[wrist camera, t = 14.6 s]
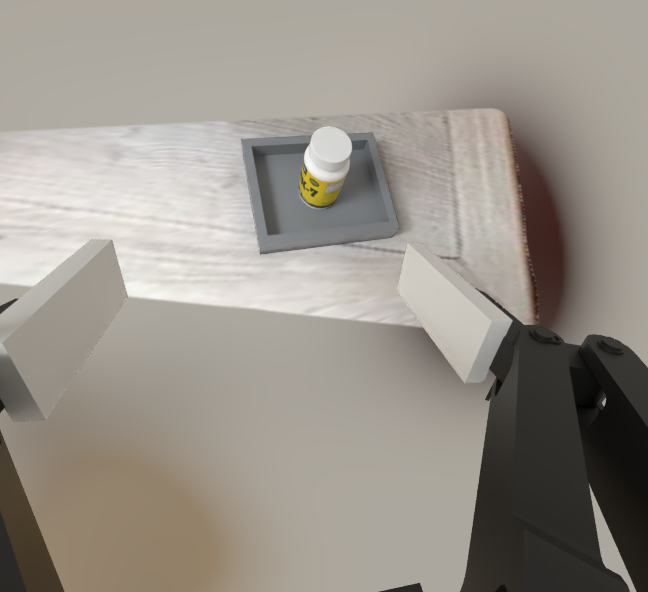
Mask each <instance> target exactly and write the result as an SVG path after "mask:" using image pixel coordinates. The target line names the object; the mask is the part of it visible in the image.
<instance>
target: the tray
mask: <svg viewBox="0 0 648 592" xmlns="http://www.w3.org/2000/svg"><path fill="white" fill-rule="evenodd" d="M347 135H348V137H349V138H350V140H351V143H352V152H351V155H350V158H349V159H350V166H349V171H348V173H347V175H346V178H345V180H344V183H343V185H342V187H341V190H340V192H339V195H338V197H337V199H336V201H335V203H334V204H333V205H332V206H330V207H329V208H326V209H321V210H319V209H313V208H311V207H309V206H307V205H306V204H305V203H304V202H303V201H302V199H301V198H300V195H299V191H298V188H299V181H300V175H301V169H302V164H303V158H304V154H305V151H306V149H307V147H308V146H309V144H310V141H311V138H312V136H294V137H274V138H254V139H241V142H242V151H243V158H244V163H245V169H246V175H247V181H248V187H249V193H250V199H251V204H252V210H253V216H254V222H255V228H256V234H257V240H258V245H259V251H260V254H267V253H275V252H282V251H290V250H298V249H306V248H314V247H321V246H329V245H337V244H345V243H353V242H361V241H368V240H376V239H384V238H391V237H392V236H393V235H394V234H395V233H396V232H397V231H398V230H399V225H398V221H397V218H396V214H395V210H394V207H393V203H392V199H391V196H390V192H389V188H388V185H387V181H386V178H385V174H384V170H383V167H382V163H381V159H380V156H379V152H378V148H377V145H376V141H375V137H374V134H373V133H353V134H347Z"/></svg>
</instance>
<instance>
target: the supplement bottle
mask: <svg viewBox="0 0 648 592" xmlns="http://www.w3.org/2000/svg"><path fill="white" fill-rule="evenodd" d="M351 152H352V143H351V140H350V138H349V137H348V135H347V134H346V133H345V132H344V131H342V130H340V129H338V128H336V127H331V126H326V127H322V128H319V129H318V130H316V131H315V132H314V134H313V135H312V138H311V141H310V144H309V146H308V147H307V149H306V151H305V154H304V158H303V164H302V169H301V175H300V181H299V188H298V191H299V195H300V198H301V199H302V201H303V202H304V203H305V204H306V205H307V206H309V207H311V208H313V209H319V210H321V209H326V208H329V207H330V206H332V205H333V204H334V203H335V201H336V199H337V197H338V195H339V192H340V190H341V187H342V185H343V183H344V180H345V178H346V175H347V173H348V171H349V166H350V159H349V158H350V155H351Z"/></svg>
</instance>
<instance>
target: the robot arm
mask: <svg viewBox="0 0 648 592" xmlns="http://www.w3.org/2000/svg"><path fill="white" fill-rule="evenodd" d="M397 292H398V294H399V295H400V296H401V298H402V299H403V301H404V302H405V303H406V305H407V306H408V307H409V309H410V310H411V311H412V313H413V314H414V315H415V317H416V318H417V319H418V321H419V322H420V324H421V325H422V326H423V328H424V329H425V330H426V332H427V333H428V334H429V336H430V337H431V338H432V340H433V341H434V343H435V344H436V345H437V347H438V348H439V349H440V351H441V352H442V353H443V355H444V356H445V357H446V359H447V360H448V361H449V363H450V364H451V366H452V367H453V368H454V370H455V371H456V372H457V374H458V375H459V376H460V378H461V379H462V380H463V382H464V383H465V384H466V383H477V382H484V380H485V378H486V376H487V373H488V371H489V369H490V370H491V371H492V372H493V373H494V374H495V376H496V379H495V381H494V383H493V385H492V387H491V389H490V391H489V393H488V395H487V397H486V399H485V400H488V401H489V399H490V398H491V399H490V407H489V414H488V420H487V427H486V434H485V441H484V448H483V456H482V463H481V470H480V477H479V484H478V491H477V499H476V505H475V512H474V519H473V526H472V533H471V541H470V548H469V555H468V561H467V569H466V574H465V578H464V583H463V585H462V588H461V591H460V592H630V591H629V588H628V586H627V584H626V583H625V581H624V580H623V579H622V577H621V576H620V575H618V574H616V573H615V572H613V571H611V570H609V569H607V568H606V567H605V566H604V564H603V561H602V558H601V554H600V548H599V542H598V536H597V531H596V524H595V518H594V512H593V507H592V500H591V495H590V488H589V484H590V487H591V489H592V491H593V493H594V496H595V498H596V500H597V502H598V505H599V507H600V509H601V512H602V514H603V516H604V518H605V521H606V523H607V525H608V528H609V530H610V532H611V534H612V537H613V539H614V541H615V543H616V546H617V548H618V550H619V552H620V555H621V557H622V559H623V562H624V564H625V566H626V569H627V571H628V573H629V575H630V578H631V580H632V582H633V584H634V587H635V589H636V591H637V592H648V368H647V366H646V365H645V364H644V363H643V362H642V361H641V360H640V358H639V357H638V356H637V355H636V354H635V353H634V352H633V351H632V350H631V349H630V348H629V347H627V346H626V345H624V344H622V343H621V342H620V341H618V340H616V339H615V340H614V339H613V338H611V337H605V336H602V335H594V334H593V335H588V336H587V338H586V339H585V340H584V342H583V344H582V345H581V346H579V345H573V344H567V343H564V341H563V339H562V338H561V337H559V336H558V335H557V334H555V333H554V332H552V331H550V330H548V329H545V328H543V327H539V326H535V325H523V324H522V323H521V322H520V321H519V320H517V319H516V318H515V317H514V316H513V315H511V314H510V313H509V312H508V311H507V310H505V309H504V308H502V306H501V305H499V304H498V303H496V302H495V300H493V299H492V298H491V297H490V296H489V295H487V294H486V293H484V292H482V291H480V290H478V289H476V288H474V287H473V286H472V285H471V284H469V283H468V282H467V281H466V280H465V279H464V278H462V277H461V276H460V275H459V274H458V273H457V272H455V271H454V270H453V269H452V268H451V267H450V266H448V265H447V264H446V263H445V262H444V261H442V260H441V259H440V258H439V257H438V256H437V255H435V254H434V253H433V252H432V251H431V250H430V249H428V248H427V247H426V246H425V245H424V244H423V243H407V248H406V252H405V257H404V261H403V265H402V270H401V274H400V278H399V283H398V287H397ZM127 298H128V295H127V292H126V288H125V285H124V281H123V278H122V274H121V270H120V267H119V263H118V260H117V256H116V253H115V249H114V245H113V242H112V240H90V241H89V242H88V243H86V244H85V245H84V246H83V247H82V248H80V249H79V250H78V251H77V252H75V253H74V254H73V255H72V256H71V257H69V258H68V259H67V260H66V261H64V262H63V263H62V264H61V265H60V266H58V267H57V268H56V269H55V270H54V271H52V272H51V273H50V274H49V275H47V276H46V277H45V278H44V279H43V280H41V281H40V282H39V283H38V284H36V285H35V286H34V287H33V288H32V289H30V290H29V291H28V292H27V293H25V294H24V295H23V296H22V297H21V298H19V299H14V300H12V301H10V302H8V303H6V304H4V305H1V306H0V412H1V411H2V410H3V409H4V408H5V410H6V411H7V413H8V414H9V416H10V418H11V419H12V420H13V422H26V421H36V420H37V421H38V420H46V419H47V417H48V416H49V414H50V413H51V411H52V409H53V408H54V407H55V405H56V404H57V402H58V401H59V399H60V398H61V396H62V395H63V393H64V392H65V390H66V389H67V387H68V386H69V384H70V383H71V381H72V380H73V378H74V377H75V375H76V374H77V372H78V371H79V369H80V368H81V366H82V365H83V363H84V362H85V360H86V359H87V357H88V356H89V354H90V353H91V351H92V350H93V348H94V347H95V345H96V344H97V342H98V341H99V339H100V338H101V336H102V335H103V333H104V332H105V330H106V329H107V328H108V326H109V325H110V323H111V321H112V320H113V319H114V317H115V315H116V314H117V313H118V311H119V310H120V308H121V307H122V305H123V303H124V302H125V301H126V299H127ZM605 398H606V404H605V406H603V405H602V402H603V400H604V399H605ZM0 592H64V589H63V587H62V584H61V582H60V579H59V577H58V574H57V572H56V569H55V567H54V565H53V562H52V559H51V557H50V554H49V552H48V549H47V547H46V544H45V542H44V539H43V536H42V534H41V531H40V529H39V526H38V524H37V521H36V519H35V516H34V514H33V511H32V509H31V506H30V504H29V501H28V499H27V496H26V494H25V491H24V489H23V486H22V484H21V481H20V479H19V476H18V474H17V471H16V469H15V466H14V463H13V461H12V458H11V456H10V453H9V451H8V448H7V446H6V443H5V441H4V438H3V436H2V433H1V431H0ZM380 592H423V591H422V588H421V585H420V583H417V584H413V585H408V586H403V587H399V588H394V589H389V590H385V591H380Z"/></svg>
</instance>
